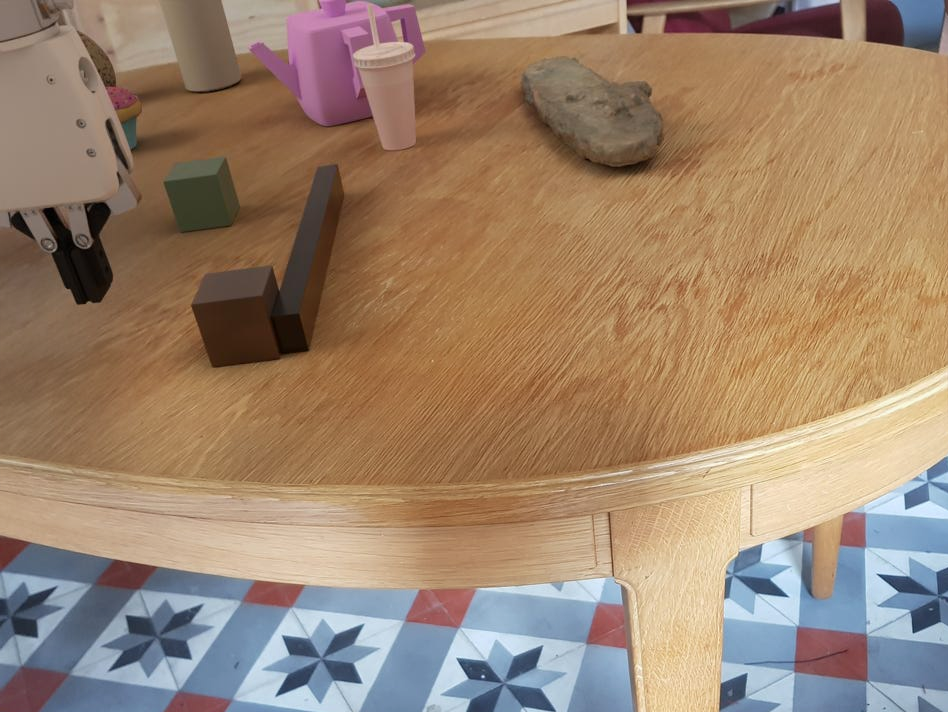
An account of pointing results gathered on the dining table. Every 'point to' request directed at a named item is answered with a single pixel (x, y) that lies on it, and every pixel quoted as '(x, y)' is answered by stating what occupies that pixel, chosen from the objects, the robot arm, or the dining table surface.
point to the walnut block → (238, 315)
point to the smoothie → (389, 88)
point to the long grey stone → (594, 111)
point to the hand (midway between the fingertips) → (94, 294)
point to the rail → (308, 262)
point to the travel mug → (202, 44)
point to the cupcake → (126, 111)
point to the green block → (202, 194)
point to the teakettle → (335, 56)
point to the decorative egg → (99, 61)
